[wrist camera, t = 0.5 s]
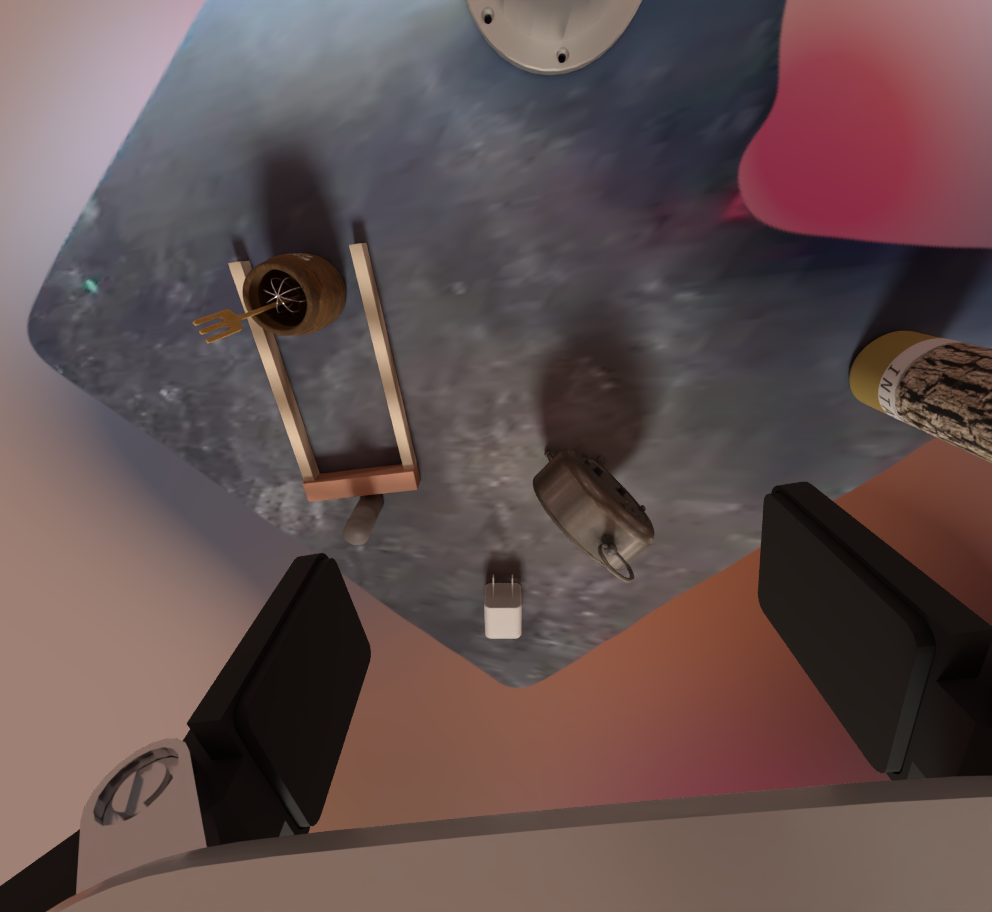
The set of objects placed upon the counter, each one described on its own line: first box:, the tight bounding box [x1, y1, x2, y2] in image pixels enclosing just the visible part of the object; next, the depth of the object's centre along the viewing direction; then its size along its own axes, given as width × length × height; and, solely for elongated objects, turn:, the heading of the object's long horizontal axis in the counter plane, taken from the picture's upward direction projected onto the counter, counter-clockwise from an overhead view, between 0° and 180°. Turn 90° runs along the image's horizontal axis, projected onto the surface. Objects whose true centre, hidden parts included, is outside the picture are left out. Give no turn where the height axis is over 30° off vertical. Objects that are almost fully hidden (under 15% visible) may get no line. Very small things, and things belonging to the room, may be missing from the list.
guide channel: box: [228, 243, 421, 545], centre depth 41 cm, size 25×11×6 cm, turn 8°
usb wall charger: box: [484, 574, 522, 639], centre depth 51 cm, size 4×7×4 cm, turn 1°
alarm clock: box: [533, 449, 654, 583], centre depth 39 cm, size 11×5×16 cm, turn 49°
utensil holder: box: [193, 253, 346, 343], centre depth 34 cm, size 6×6×12 cm
